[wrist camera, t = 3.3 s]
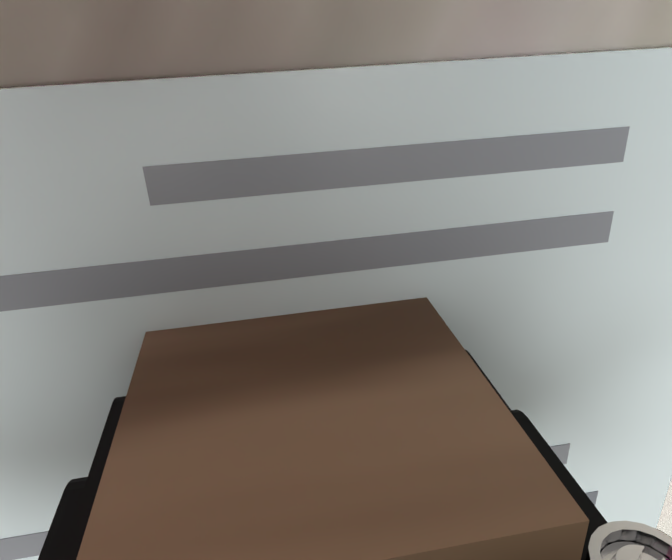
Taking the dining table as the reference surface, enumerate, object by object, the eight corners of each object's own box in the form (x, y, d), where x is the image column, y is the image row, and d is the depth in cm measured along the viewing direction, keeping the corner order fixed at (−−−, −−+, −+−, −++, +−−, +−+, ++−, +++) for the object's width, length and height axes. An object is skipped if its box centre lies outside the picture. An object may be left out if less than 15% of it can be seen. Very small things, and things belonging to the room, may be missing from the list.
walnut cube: (145, 331, 9) (57, 622, 5) (426, 297, 10) (589, 519, 5) (193, 535, 11) (164, 869, 7) (420, 495, 12) (533, 774, 7)
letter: (-452, 115, 7) (-471, 118, 6) (794, 39, 9) (806, 39, 9) (-65, 697, 12) (-70, 708, 12) (641, 554, 15) (646, 561, 14)
